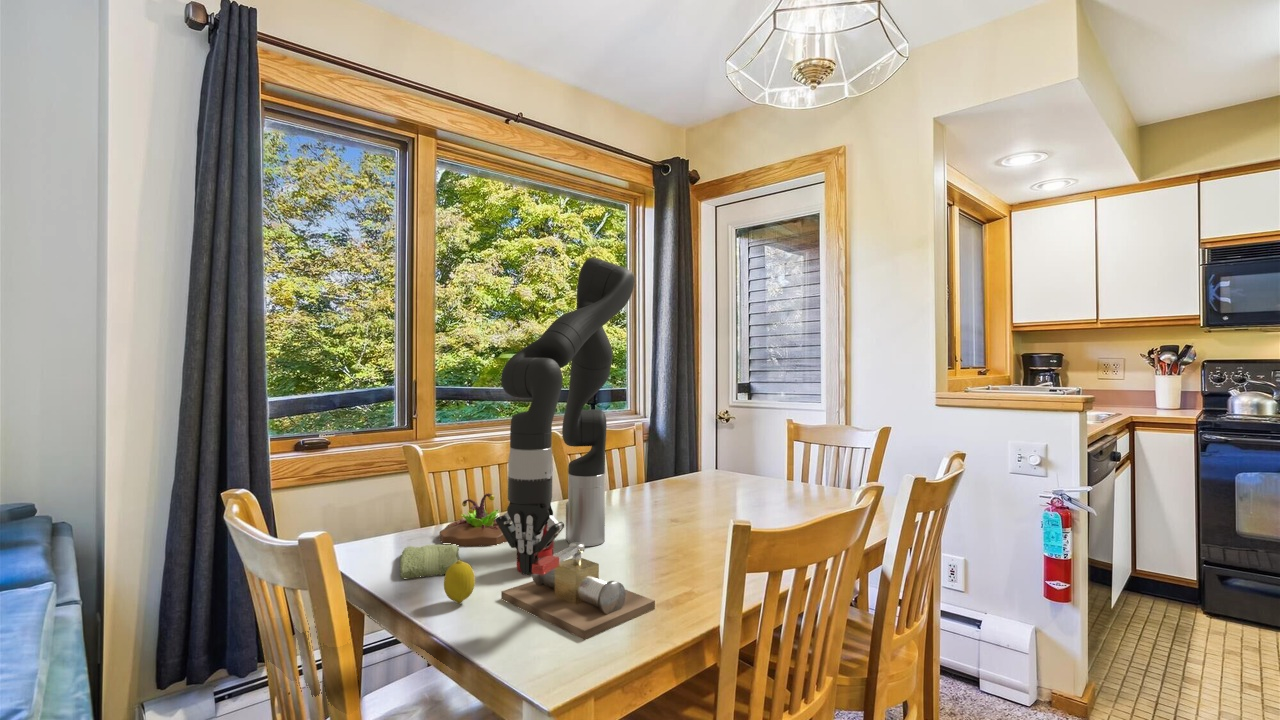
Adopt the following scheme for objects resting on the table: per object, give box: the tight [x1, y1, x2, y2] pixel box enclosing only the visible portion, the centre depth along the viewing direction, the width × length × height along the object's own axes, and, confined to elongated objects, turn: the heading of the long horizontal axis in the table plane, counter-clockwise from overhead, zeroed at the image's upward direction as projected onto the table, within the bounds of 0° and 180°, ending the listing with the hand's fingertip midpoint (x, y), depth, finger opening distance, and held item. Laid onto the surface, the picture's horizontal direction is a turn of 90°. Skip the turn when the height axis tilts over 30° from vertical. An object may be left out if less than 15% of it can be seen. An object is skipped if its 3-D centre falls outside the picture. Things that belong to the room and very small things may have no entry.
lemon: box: [443, 559, 476, 605], centre depth 110 cm, size 6×6×8 cm
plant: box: [439, 493, 508, 547], centre depth 155 cm, size 20×20×11 cm
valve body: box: [531, 553, 626, 614], centre depth 110 cm, size 20×6×9 cm, turn 46°
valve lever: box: [532, 542, 585, 575], centre depth 105 cm, size 14×3×2 cm, turn 156°
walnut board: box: [500, 580, 656, 641], centre depth 110 cm, size 24×17×2 cm
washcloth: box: [399, 544, 460, 580], centre depth 132 cm, size 13×18×3 cm
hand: (528, 573), depth 102 cm, fingers closed
